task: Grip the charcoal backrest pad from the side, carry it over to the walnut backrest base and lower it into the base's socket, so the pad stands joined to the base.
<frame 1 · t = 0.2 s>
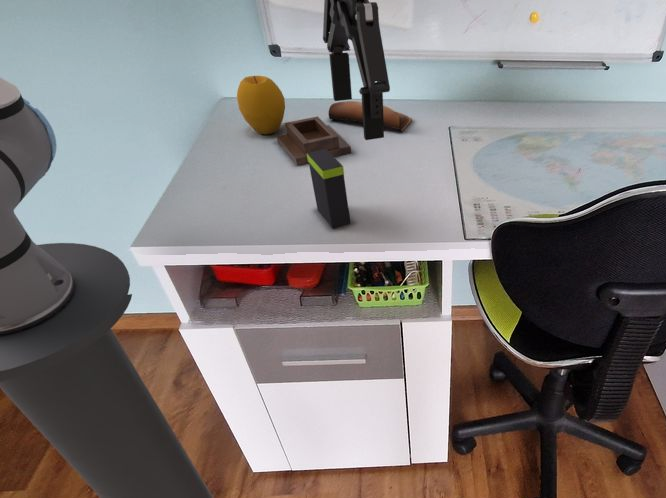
hand: (357, 117, 80), 20 cm above the table, tool pointing down, fingers open, 13 cm apart
apple: (268, 131, 121), on the table
pad base: (314, 147, 116), on the table
sunglasses case: (371, 121, 127), on the table
back pad: (333, 216, 97), on the table
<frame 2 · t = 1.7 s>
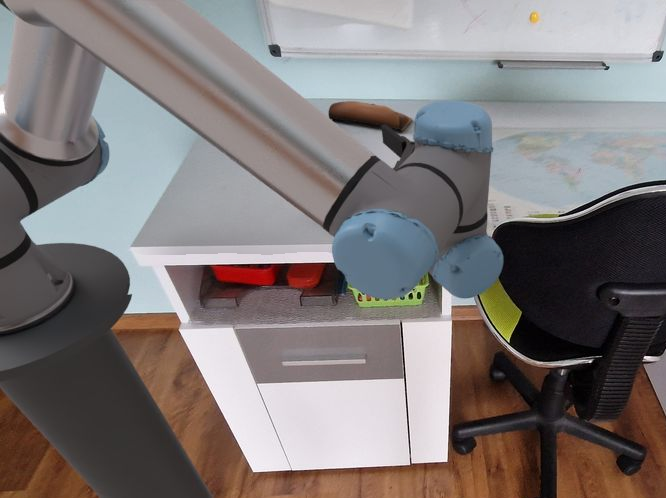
hand: (342, 143, 79), 18 cm above the table, tool horizontal, fingers open, 13 cm apart
nothing on the table moved.
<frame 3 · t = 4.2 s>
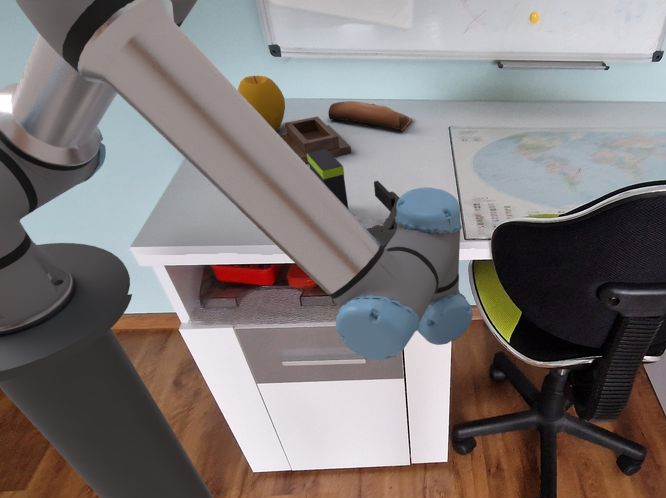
hand: (339, 197, 90), 6 cm above the table, tool horizontal, fingers open, 13 cm apart
nothing on the table moved.
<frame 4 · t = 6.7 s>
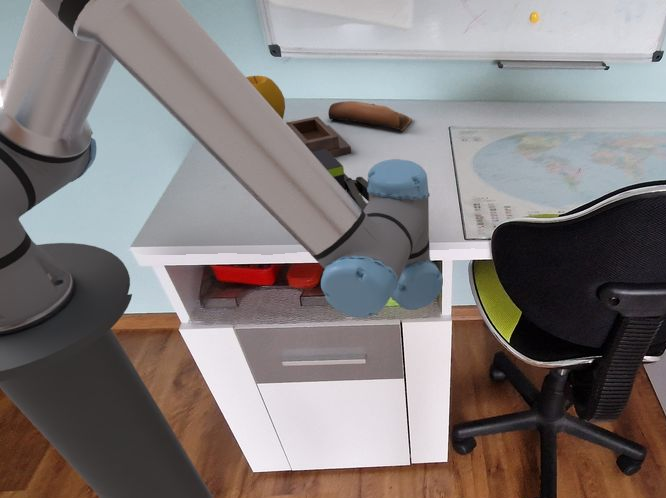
hand: (317, 172, 96), 6 cm above the table, tool horizontal, fingers closed on back pad, 3 cm apart
back pad: (333, 216, 97), on the table, touching gripper
everything else where it was.
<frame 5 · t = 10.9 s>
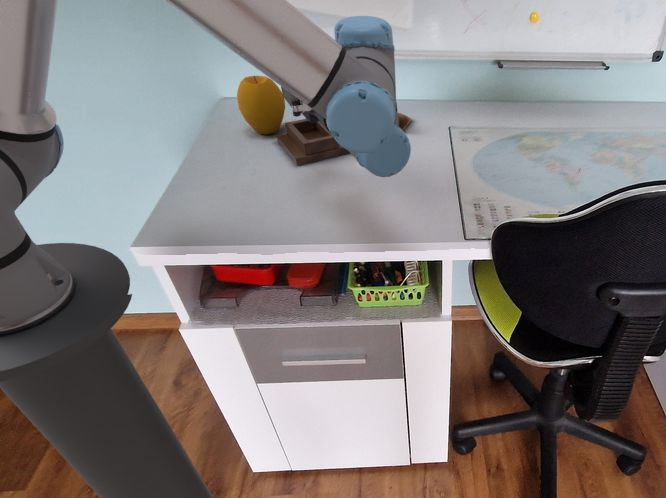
hand: (296, 69, 99), 18 cm above the table, tool horizontal, fingers closed on back pad, 3 cm apart
back pad: (313, 114, 100), point 12 cm above the table, touching gripper
everything else where it was.
when the fingers open (8 cm above the table, at t = 15.4 s): back pad stays where it is, resting on pad base.
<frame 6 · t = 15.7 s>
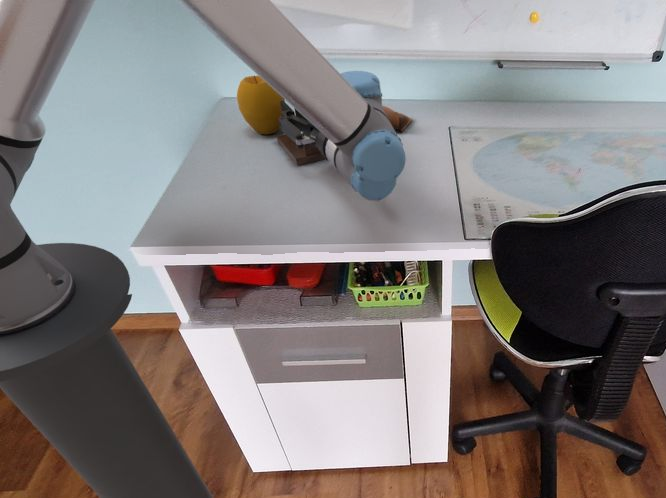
hand: (299, 104, 114), 7 cm above the table, tool horizontal, fingers open, 6 cm apart
back pad: (313, 140, 115), point 1 cm above the table, touching pad base
everything else where it was.
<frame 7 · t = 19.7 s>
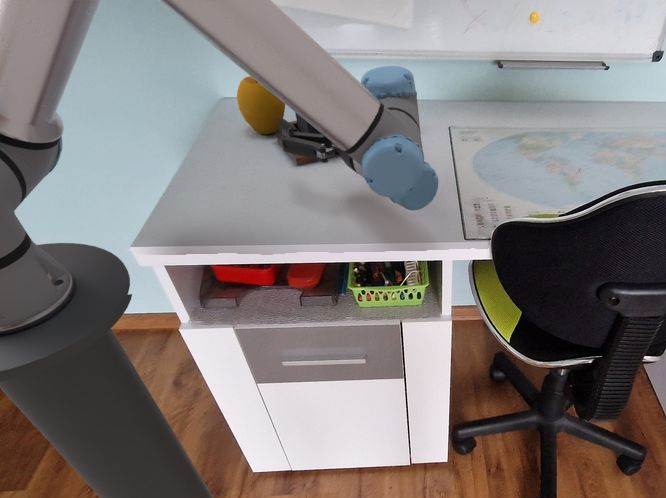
hand: (315, 116, 103), 10 cm above the table, tool horizontal, fingers open, 13 cm apart
nothing on the table moved.
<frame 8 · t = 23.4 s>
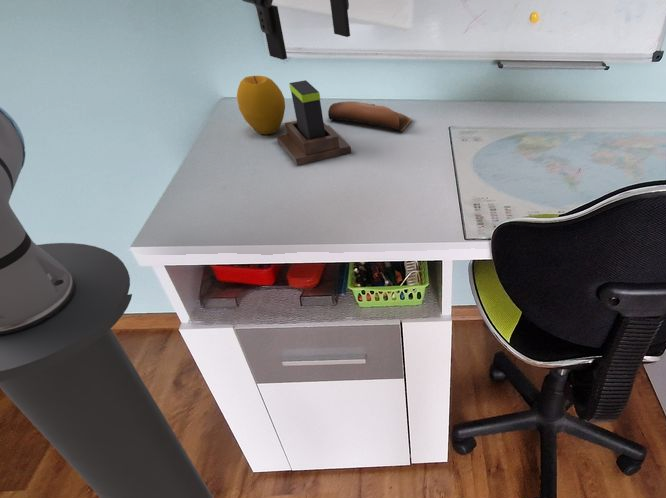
hand: (312, 45, 82), 27 cm above the table, tool pointing down, fingers open, 13 cm apart
nothing on the table moved.
at the end: back pad 0.0 cm off-centre on the pad base, point 1.5 cm above the pad base's base; back pad tilted 0°; the gripper is holding nothing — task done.
